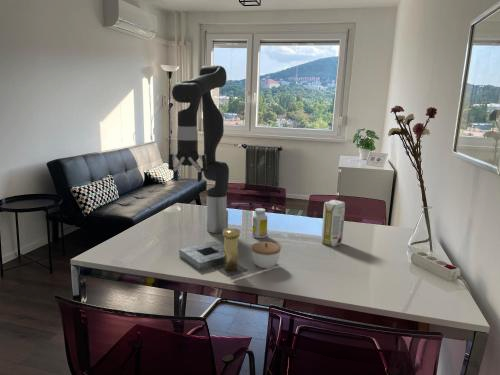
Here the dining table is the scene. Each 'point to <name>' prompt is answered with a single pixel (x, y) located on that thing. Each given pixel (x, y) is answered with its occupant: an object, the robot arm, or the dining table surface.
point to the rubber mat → (239, 270)
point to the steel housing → (203, 255)
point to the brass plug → (231, 249)
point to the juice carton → (333, 222)
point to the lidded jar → (265, 254)
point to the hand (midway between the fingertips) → (187, 181)
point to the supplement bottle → (259, 223)
